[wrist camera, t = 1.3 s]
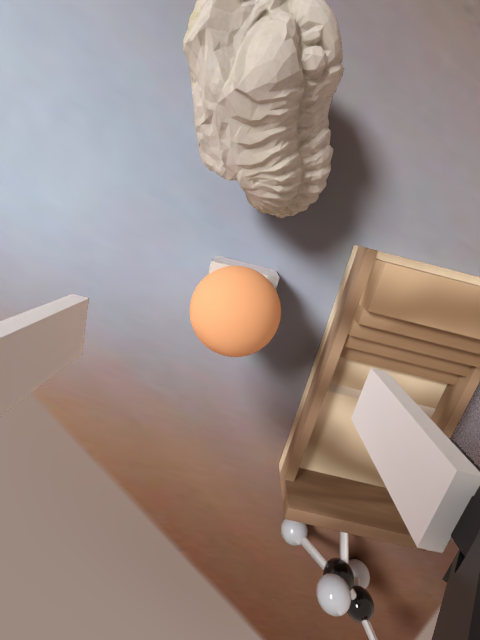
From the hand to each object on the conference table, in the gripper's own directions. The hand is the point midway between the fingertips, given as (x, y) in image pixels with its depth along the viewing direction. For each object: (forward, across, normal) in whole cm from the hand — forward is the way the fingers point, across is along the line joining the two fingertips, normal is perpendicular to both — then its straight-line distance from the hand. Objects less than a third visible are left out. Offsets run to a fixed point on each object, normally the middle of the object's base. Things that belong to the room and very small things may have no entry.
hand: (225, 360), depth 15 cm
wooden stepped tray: (+14, +14, -4) cm, 20 cm away
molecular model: (+14, +17, -23) cm, 32 cm away
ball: (+7, 0, 0) cm, 7 cm away
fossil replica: (+14, -1, +12) cm, 18 cm away
